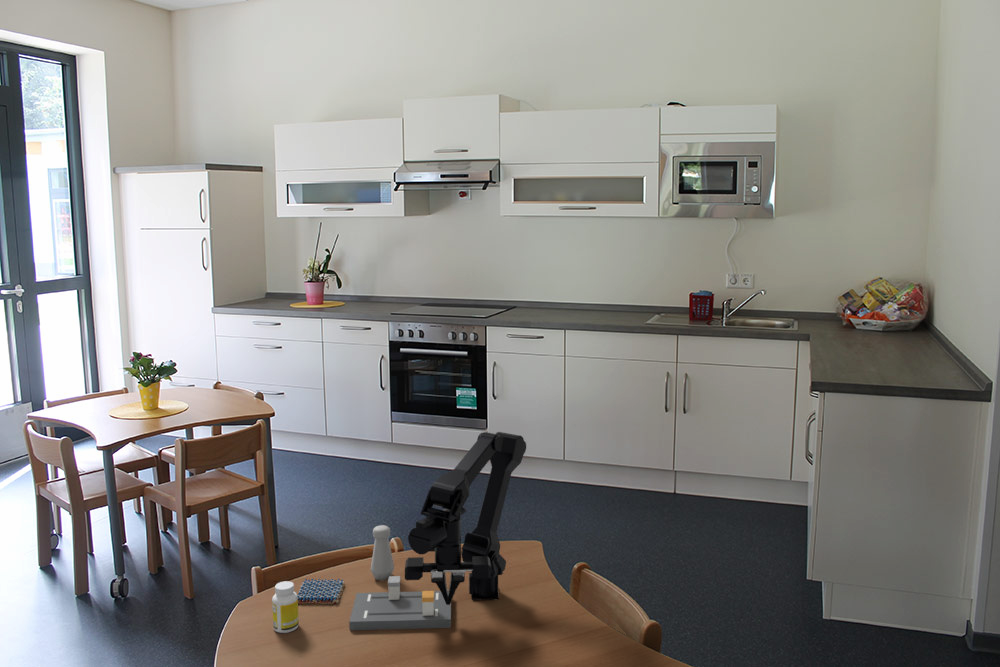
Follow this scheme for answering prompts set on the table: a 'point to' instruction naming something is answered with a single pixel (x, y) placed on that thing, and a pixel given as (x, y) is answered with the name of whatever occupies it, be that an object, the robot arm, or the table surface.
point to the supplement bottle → (285, 608)
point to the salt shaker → (382, 554)
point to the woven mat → (320, 591)
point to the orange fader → (428, 602)
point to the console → (397, 612)
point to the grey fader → (394, 587)
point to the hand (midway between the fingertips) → (448, 603)
